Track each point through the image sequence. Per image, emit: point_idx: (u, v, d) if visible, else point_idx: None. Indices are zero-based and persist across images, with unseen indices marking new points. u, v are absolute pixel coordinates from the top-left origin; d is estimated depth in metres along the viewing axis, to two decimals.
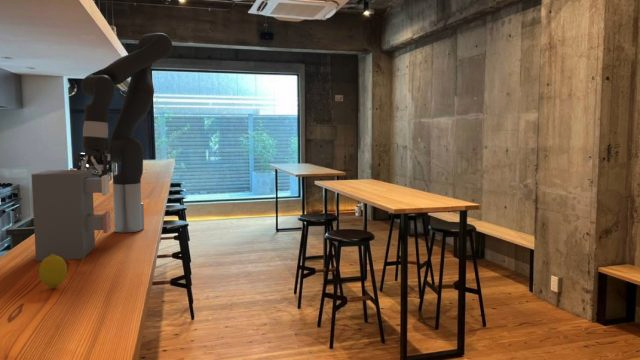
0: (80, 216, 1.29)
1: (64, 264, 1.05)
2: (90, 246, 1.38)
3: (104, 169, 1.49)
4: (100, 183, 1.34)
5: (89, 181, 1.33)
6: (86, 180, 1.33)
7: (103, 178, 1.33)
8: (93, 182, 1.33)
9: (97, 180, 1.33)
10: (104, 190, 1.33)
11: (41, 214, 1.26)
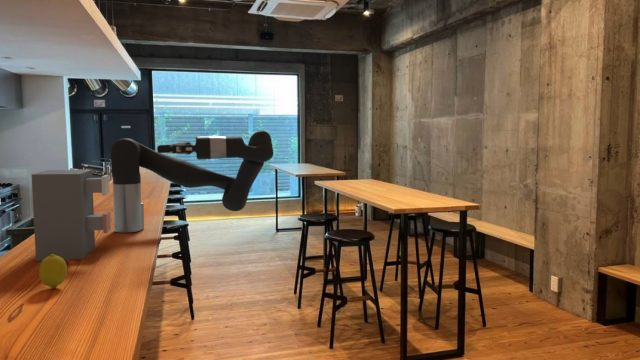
0: (80, 216, 1.29)
1: (64, 264, 1.05)
2: (90, 246, 1.38)
3: (175, 145, 1.40)
4: (100, 183, 1.34)
5: (89, 181, 1.33)
6: (86, 180, 1.33)
7: (103, 178, 1.33)
8: (93, 182, 1.33)
9: (97, 180, 1.33)
10: (104, 190, 1.33)
11: (41, 214, 1.26)
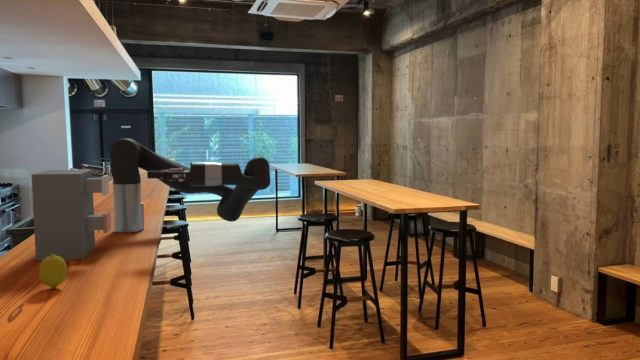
0: (80, 216, 1.29)
1: (64, 264, 1.05)
2: (90, 246, 1.38)
3: (165, 171, 1.39)
4: (100, 183, 1.34)
5: (89, 181, 1.33)
6: (86, 180, 1.33)
7: (103, 178, 1.33)
8: (93, 182, 1.33)
9: (97, 180, 1.33)
10: (104, 190, 1.33)
11: (41, 214, 1.26)
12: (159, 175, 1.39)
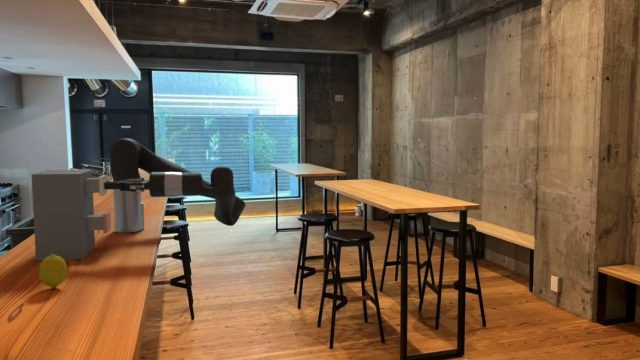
0: (80, 216, 1.29)
1: (64, 264, 1.05)
2: (90, 246, 1.38)
3: (122, 182, 1.34)
4: (98, 183, 1.33)
5: (87, 181, 1.33)
6: None
7: (101, 178, 1.33)
8: (91, 182, 1.33)
9: (95, 180, 1.33)
10: (102, 190, 1.33)
11: (41, 214, 1.26)
12: (117, 186, 1.35)
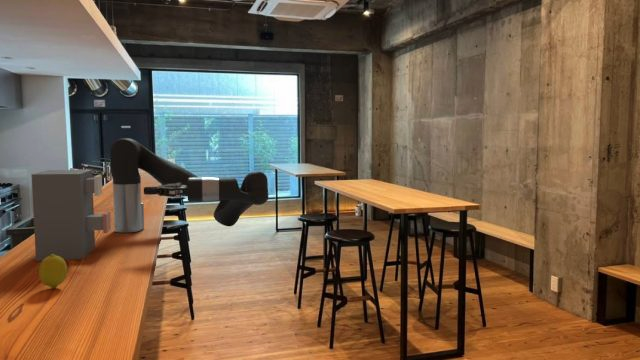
0: (80, 216, 1.29)
1: (64, 264, 1.05)
2: (90, 246, 1.38)
3: (162, 187, 1.37)
4: (93, 183, 1.33)
5: None
6: None
7: (96, 178, 1.32)
8: (86, 182, 1.33)
9: (90, 180, 1.33)
10: (97, 190, 1.33)
11: (41, 214, 1.26)
12: (156, 191, 1.38)
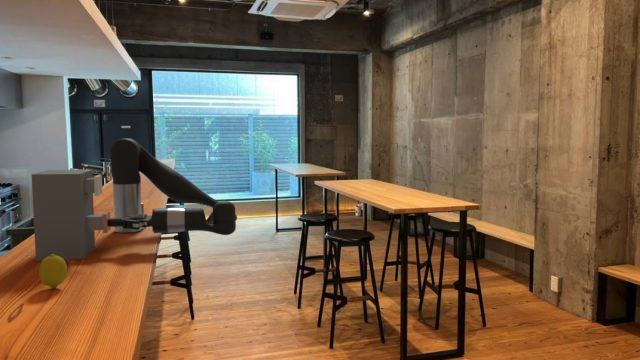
0: (80, 216, 1.29)
1: (64, 264, 1.05)
2: (90, 246, 1.38)
3: (126, 219, 1.35)
4: (93, 183, 1.33)
5: None
6: None
7: (96, 178, 1.32)
8: (86, 182, 1.33)
9: (90, 180, 1.33)
10: (97, 190, 1.33)
11: (41, 214, 1.26)
12: (120, 223, 1.36)
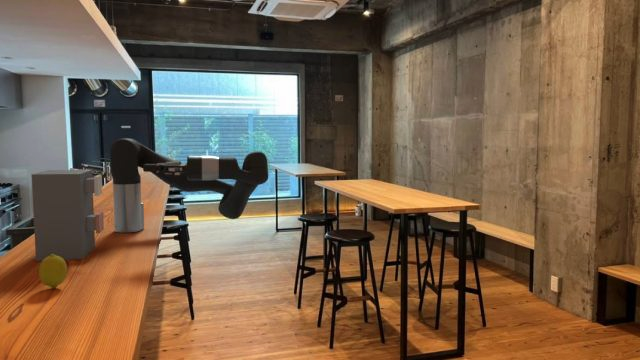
0: (80, 216, 1.29)
1: (64, 264, 1.05)
2: (90, 246, 1.38)
3: (161, 164, 1.36)
4: (93, 183, 1.33)
5: None
6: None
7: (96, 178, 1.32)
8: (86, 182, 1.33)
9: (90, 180, 1.33)
10: (97, 190, 1.33)
11: (41, 214, 1.26)
12: (155, 168, 1.37)
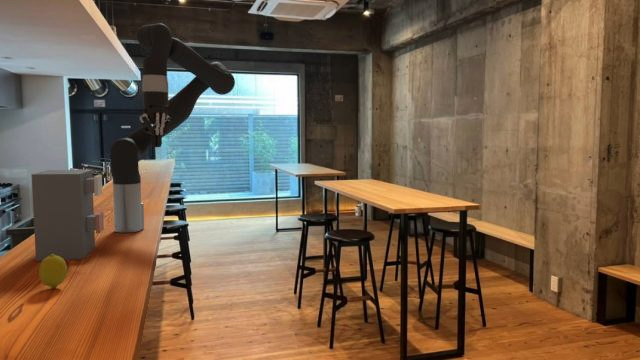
0: (80, 216, 1.29)
1: (64, 264, 1.05)
2: (90, 246, 1.38)
3: None
4: (93, 183, 1.33)
5: None
6: None
7: (96, 178, 1.32)
8: (86, 182, 1.33)
9: (90, 180, 1.33)
10: (97, 190, 1.33)
11: (41, 214, 1.26)
12: (153, 135, 1.43)
